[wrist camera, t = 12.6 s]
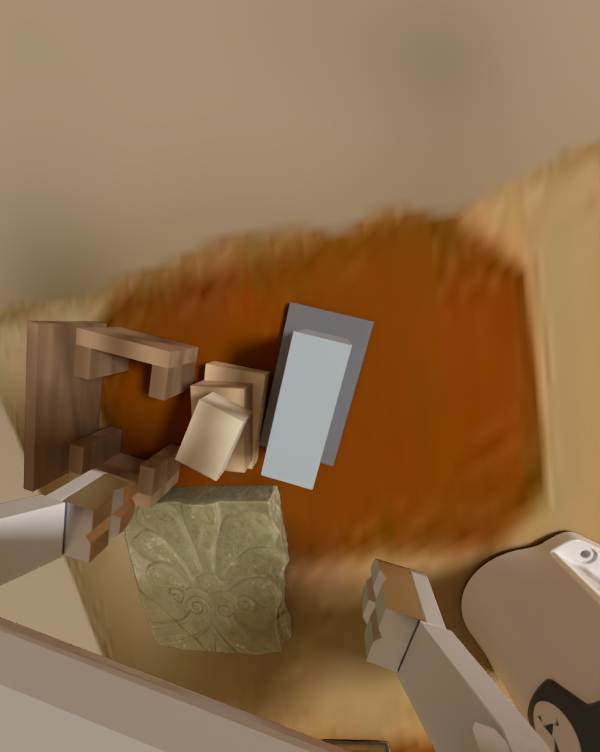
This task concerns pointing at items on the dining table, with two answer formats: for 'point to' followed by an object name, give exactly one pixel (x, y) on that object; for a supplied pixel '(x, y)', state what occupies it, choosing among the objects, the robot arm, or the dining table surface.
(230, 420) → the offcut top
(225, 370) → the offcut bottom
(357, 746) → the food packaging
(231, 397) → the offcut middle
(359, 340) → the mat
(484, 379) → the dining table surface
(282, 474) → the light blue rectangular block
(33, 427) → the rack
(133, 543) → the decorative tile
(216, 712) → the robot arm
